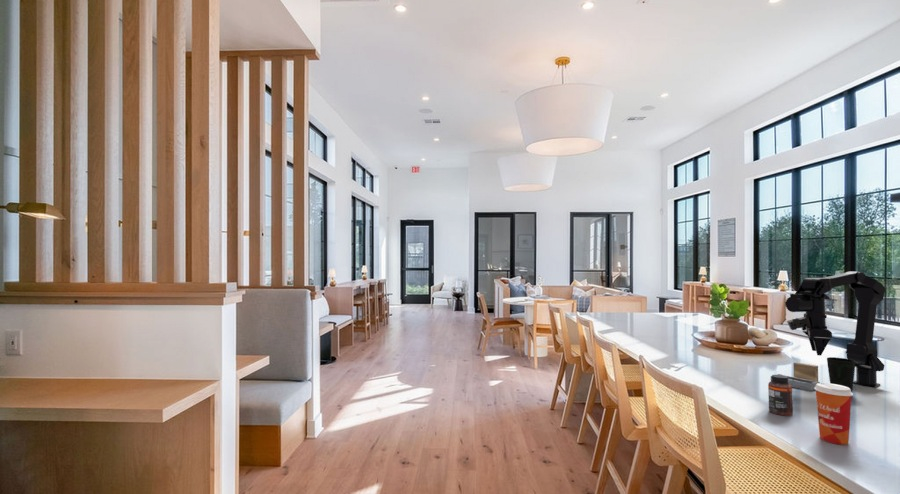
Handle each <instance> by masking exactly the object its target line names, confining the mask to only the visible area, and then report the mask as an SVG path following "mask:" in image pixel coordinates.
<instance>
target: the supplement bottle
mask: <svg viewBox="0 0 900 494" xmlns="http://www.w3.org/2000/svg"><path fill="white" fill-rule="evenodd" d="M783 375H784V374H782V375H777V374H772V375H771V376H772V381H771V380H770V381H769V382H768V383H767V384H768V385H767V386H768V387H767V388H768V389H767V390H768V392H767V394H768V411H769V412H771V414H775V415H779V416H789V417H790V416H792V415H793V413H794V408H793V407H794V406H793V387H792V386H791V385H790V384H789V383H788V377H787V376H788V375H786V376H783Z"/></svg>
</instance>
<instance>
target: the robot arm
mask: <svg viewBox="0 0 900 494" xmlns="http://www.w3.org/2000/svg"><path fill="white" fill-rule="evenodd" d="M847 285H848V287H849V288H850V289H852V290H853V292H854V293H853V294H854V297H855V299H856V301H857V303H858V309H857V316H856V317H857V319H856V325H855V335H854V340H853V341H852V342H851V343H850V342H848V343H846V350H845V354H846V359H850V360H854V361H855V373H856V374H855V375H856V376H855V377H856V379H855V380H854V381H853V384H855V385H860V386H866V387H872V388H876V387H879V386H881V385H882V384H881V383H878V381H877V377H878V376H877V372H882V371H883V372H884V370H885V364H884V363H883V362H882V360H880V359H879V357H878V350H877V348H876V347H875V345H874V343H873V339H874V331H875V323H876V315H877V306H878V305H879V304H880V303H881V302H882V301H883V300H884V297H885V293H886V287H885V286H884V285H883V283H882V282H879V280H877V279H875V278H873V277H870V276H868V275H867V274H866V273H864V272H861V271H846V272H843V273H839V274H834V275H830V276H826V277H806V278H803V279H802V281H801V284H800V285H799V287H798V289H797V290H796V291H795V293H790V294H789V296H790V297H789V296H788V298H786V301H785V302H784V304H785V309H786V310H788V311H789V312H791V313H803V317H796V318H792V319H789V320H787V321H786V323H787V324H788V327H789V329H790V330H791V331H794V330H798V329H801V331H802V333H804V334H805V335H806V336H807V338H808V341H809V344H810V347H811V351H813V352H816V355H817V356H822V354H823V352H824V351H825V349H826V347H827V345H829V343H830V341H831V340H832V338H833V332H832V331H830V329H828V326H827V323H826V319H827V318H828V316H827V314H826V300H830V299H831V298H830V297H829V296H828V295H827V294H828V293H829V292H830V291H832V289H833V288H837V287H838V288H839V287H841V286H847ZM826 293H827V294H826Z"/></svg>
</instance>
